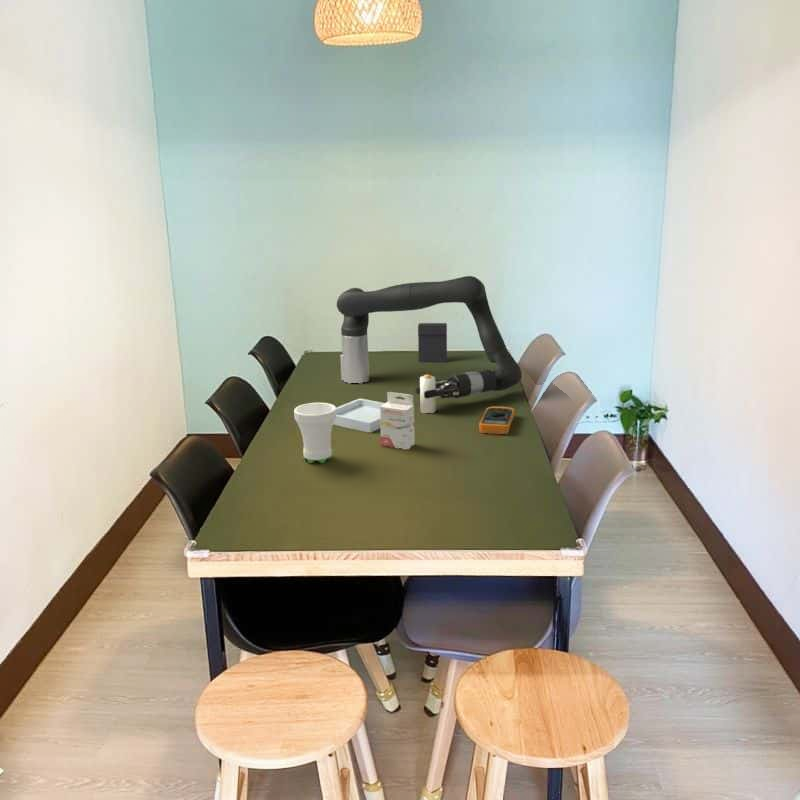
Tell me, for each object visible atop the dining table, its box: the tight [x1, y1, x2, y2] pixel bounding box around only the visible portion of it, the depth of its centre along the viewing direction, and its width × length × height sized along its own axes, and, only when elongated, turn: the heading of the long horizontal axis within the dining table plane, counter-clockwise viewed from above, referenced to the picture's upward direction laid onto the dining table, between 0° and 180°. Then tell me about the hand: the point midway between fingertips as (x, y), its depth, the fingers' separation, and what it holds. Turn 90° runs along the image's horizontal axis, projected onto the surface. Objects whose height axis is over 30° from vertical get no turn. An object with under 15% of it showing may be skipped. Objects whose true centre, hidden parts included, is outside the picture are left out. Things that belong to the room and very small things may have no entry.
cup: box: [293, 402, 337, 464], centre depth 210 cm, size 11×11×14 cm
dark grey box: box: [417, 322, 448, 363], centre depth 308 cm, size 11×4×15 cm, turn 84°
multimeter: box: [478, 406, 515, 435], centre depth 235 cm, size 9×18×3 cm, turn 166°
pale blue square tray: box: [333, 398, 386, 434], centre depth 243 cm, size 18×18×3 cm
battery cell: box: [419, 374, 437, 414], centre depth 248 cm, size 5×5×12 cm
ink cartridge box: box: [380, 391, 416, 450], centre depth 218 cm, size 9×5×15 cm, turn 65°
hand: (420, 392), depth 246 cm, fingers closed on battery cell, 4 cm apart
